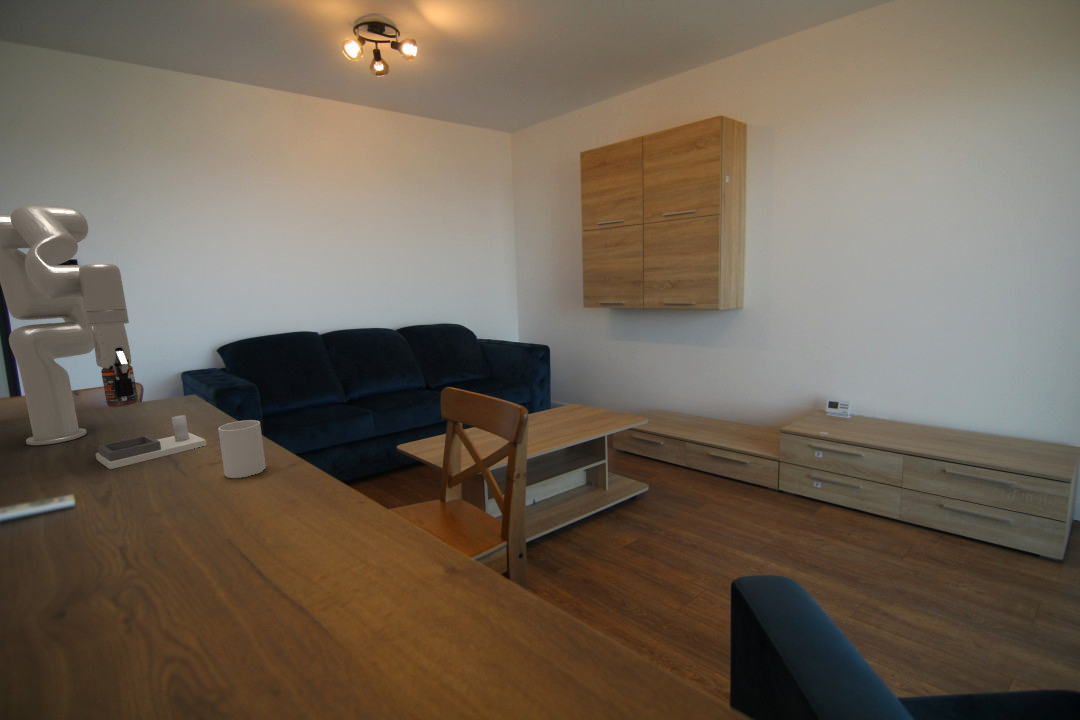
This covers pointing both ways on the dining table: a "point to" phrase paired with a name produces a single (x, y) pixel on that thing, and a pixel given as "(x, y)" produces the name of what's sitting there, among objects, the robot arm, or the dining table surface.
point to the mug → (242, 448)
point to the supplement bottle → (111, 392)
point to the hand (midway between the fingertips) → (121, 393)
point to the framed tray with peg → (149, 446)
